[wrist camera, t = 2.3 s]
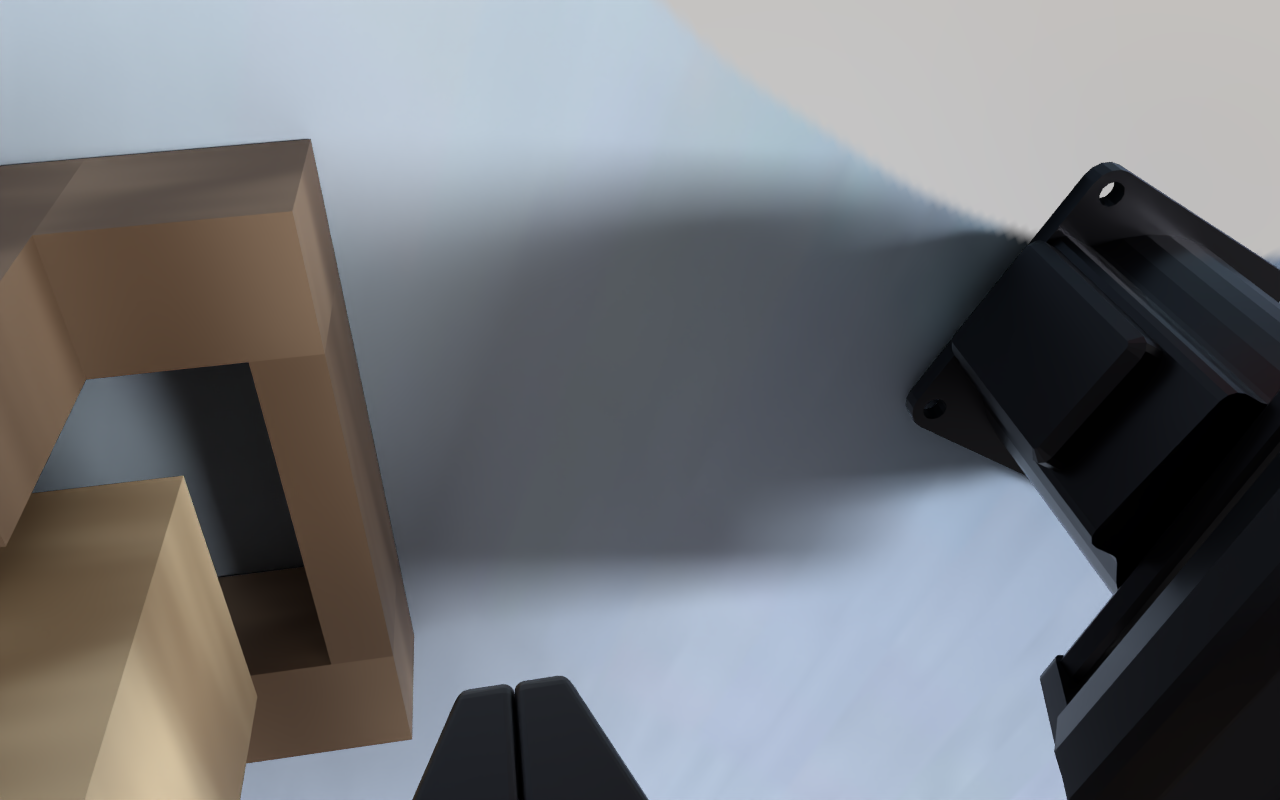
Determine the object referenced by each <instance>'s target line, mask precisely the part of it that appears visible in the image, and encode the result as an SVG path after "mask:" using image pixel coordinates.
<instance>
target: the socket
mask: <svg viewBox="0 0 1280 800" xmlns="http://www.w3.org/2000/svg"><path fill="white" fill-rule="evenodd" d="M245 362H249V366H250V369H251V373H252V377H253V380H254V384H255V388H256V391H257V395H258V399H259V402H260V406H261V410H262V413H263V417H264V421H265V424H266V428H267V431H268V435H269V439H270V442H271V446H272V450H273V453H274V457H275V461H276V464H277V468H278V472H279V475H280V479H281V483H282V486H283V490H284V494H285V497H286V501H287V505H288V508H289V512H290V516H291V519H292V523H293V527H294V530H295V534H296V538H297V541H298V545H299V549H300V552H301V556H302V559H303V563H304V567H298V568H290V569H282V570H274V571H266V572H258V573H251V574H243V575H235V576H227V577H219V578H218V580H219V583H220V586H221V589H222V592H223V595H224V598H225V601H226V604H227V607H228V610H229V613H230V616H231V619H232V622H233V625H234V628H235V631H236V634H237V637H238V640H239V643H240V646H241V649H242V652H243V655H244V658H245V661H246V664H247V667H248V670H249V673H250V676H251V679H252V682H253V685H254V688H255V691H256V694H257V701H256V707H255V713H254V719H253V725H252V731H251V737H250V743H249V749H248V755H247V761H246V763H252V762H259V761H266V760H273V759H280V758H287V757H294V756H300V755H307V754H314V753H321V752H328V751H335V750H342V749H349V748H356V747H362V746H369V745H376V744H383V743H390V742H397V741H404V740H411V739H412V718H413V665H414V633H413V628H412V623H411V618H410V614H409V609H408V604H407V599H406V594H405V590H404V585H403V580H402V575H401V570H400V566H399V561H398V556H397V551H396V546H395V542H394V537H393V532H392V527H391V522H390V518H389V513H388V508H387V503H386V498H385V494H384V489H383V484H382V479H381V474H380V470H379V465H378V460H377V455H376V451H375V446H374V441H373V436H372V431H371V427H370V422H369V417H368V412H367V407H366V403H365V398H364V393H363V388H362V383H361V379H360V374H359V369H358V364H357V359H356V355H355V350H354V345H353V340H352V335H351V331H350V326H349V321H348V316H347V311H346V307H345V302H344V297H343V292H342V287H341V283H340V278H339V273H338V268H337V263H336V259H335V254H334V249H333V244H332V239H331V235H330V230H329V225H328V220H327V215H326V211H325V206H324V201H323V196H322V191H321V187H320V182H319V177H318V172H317V167H316V163H315V158H314V153H313V148H312V143H311V139H307V140H296V141H284V142H272V143H261V144H249V145H237V146H226V147H214V148H202V149H191V150H179V151H168V152H156V153H144V154H133V155H121V156H109V157H98V158H86V159H74V160H63V161H51V162H40V163H28V164H16V165H5V166H0V547H6V545H7V543H8V541H9V539H10V537H11V535H12V533H13V531H14V529H15V527H16V524H17V522H18V520H19V518H20V516H21V514H22V512H23V510H24V508H25V506H26V504H27V502H28V499H29V497H30V495H31V493H32V491H33V489H34V487H35V485H36V483H37V481H38V479H39V477H40V474H41V472H42V470H43V468H44V466H45V464H46V462H47V460H48V458H49V456H50V454H51V452H52V449H53V447H54V445H55V443H56V441H57V439H58V437H59V435H60V433H61V431H62V429H63V427H64V424H65V422H66V420H67V418H68V416H69V414H70V412H71V410H72V408H73V406H74V404H75V402H76V399H77V397H78V395H79V393H80V391H81V389H82V387H83V385H84V383H85V381H86V379H95V378H105V377H114V376H123V375H133V374H142V373H152V372H161V371H170V370H180V369H189V368H198V367H208V366H217V365H226V364H236V363H245Z"/></svg>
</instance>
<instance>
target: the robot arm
mask: <svg viewBox="0 0 1280 800" xmlns="http://www.w3.org/2000/svg"><path fill="white" fill-rule="evenodd" d="M1113 182H1114V187H1113V189H1112V191H1111V192H1110V193H1109V194H1108V195H1107V196H1105V197H1102V198H1099V195H1100V193H1101V191H1102V189H1103V188H1104V187H1105V186H1106V185H1108V184H1109V183H1113ZM1279 301H1280V269H1279V268H1277V267H1275V266H1274V265H1272V264H1271V263H1269V262H1268V261H1266V260H1265V259H1263V258H1262V257H1260V256H1259V255H1257V254H1256V253H1254V252H1252V251H1251V250H1249V249H1248V248H1246V247H1245V246H1243V245H1242V244H1240V243H1239V242H1237V241H1236V240H1234V239H1233V238H1231V237H1230V236H1228V235H1226V234H1225V233H1223V232H1222V231H1220V230H1219V229H1217V228H1216V227H1214V226H1213V225H1211V224H1209V223H1208V222H1206V221H1205V220H1203V219H1202V218H1200V217H1199V216H1197V215H1196V214H1194V213H1193V212H1191V211H1190V210H1188V209H1187V208H1185V207H1184V206H1182V205H1180V204H1179V203H1177V202H1176V201H1174V200H1173V199H1171V198H1170V197H1168V196H1167V195H1165V194H1164V193H1162V192H1161V191H1159V190H1157V189H1156V188H1154V187H1153V186H1151V185H1150V184H1148V183H1147V182H1145V181H1144V180H1142V179H1141V178H1139V177H1138V176H1136V175H1134V174H1133V173H1131V172H1130V171H1128V170H1127V169H1125V168H1124V167H1122V166H1121V165H1119V164H1116V163H1113V162H1107V163H1101V164H1099V165H1097V166H1095V167H1093V168H1091V169H1090V170H1089V171H1088V172H1087V173H1086V174H1085V175H1084V176H1083V177H1082V178H1081V180H1080V181H1079V182H1078V183H1077V185H1076V186H1075V187H1074V188H1073V190H1072V191H1071V192H1070V193H1069V195H1068V196H1067V197H1066V198H1065V200H1064V201H1063V202H1062V203H1061V205H1060V206H1059V207H1058V208H1057V209H1056V211H1055V212H1054V213H1053V214H1052V216H1051V217H1050V218H1049V219H1048V221H1047V222H1046V223H1045V224H1044V226H1043V227H1042V228H1041V229H1040V231H1039V232H1038V233H1037V234H1036V236H1035V237H1034V238H1033V239H1032V240H1031V242H1030V243H1029V244H1028V245H1027V246H1026V247H1025V248H1024V249H1023V251H1022V252H1021V253H1020V254H1019V256H1018V257H1017V258H1016V259H1015V261H1014V262H1013V263H1012V264H1011V266H1010V267H1009V268H1008V269H1007V271H1006V272H1005V273H1004V274H1003V276H1002V277H1001V278H1000V279H999V281H998V282H997V283H996V284H995V286H994V287H993V288H992V289H991V291H990V292H989V293H988V294H987V295H986V297H985V298H984V299H983V300H982V302H981V303H980V304H979V305H978V307H977V308H976V309H975V310H974V312H973V313H972V314H971V315H970V317H969V318H968V319H967V320H966V322H965V323H964V324H963V325H962V327H961V328H960V329H959V330H958V332H957V333H956V334H955V335H954V337H953V338H952V340H951V341H950V342H949V344H948V345H947V346H946V347H945V349H944V350H943V351H942V352H941V354H940V355H939V356H938V357H937V359H936V360H935V361H934V362H933V363H932V365H931V366H930V367H929V368H928V370H927V371H926V372H925V373H924V375H923V376H922V377H921V378H920V380H919V381H918V382H917V383H916V385H915V386H914V387H913V388H912V390H911V391H910V393H909V395H908V396H907V399H906V407H907V410H908V412H909V414H910V415H911V417H912V418H913V420H914V422H915V423H916V424H918V425H919V426H920V427H922V428H924V429H927V430H929V431H931V432H933V433H935V434H937V435H939V436H942V437H944V438H946V439H948V440H950V441H952V442H955V443H957V444H959V445H961V446H963V447H965V448H967V449H970V450H972V451H974V452H976V453H978V454H980V455H983V456H985V457H987V458H989V459H991V460H993V461H996V462H998V463H1000V464H1002V465H1004V466H1006V467H1008V468H1011V469H1013V470H1015V471H1017V472H1019V473H1021V474H1024V475H1026V476H1027V477H1028V479H1029V480H1030V481H1031V483H1032V484H1033V486H1034V487H1035V488H1036V490H1037V491H1038V493H1039V494H1040V495H1041V497H1042V498H1043V499H1044V501H1045V502H1046V504H1047V505H1048V506H1049V508H1050V509H1051V510H1052V512H1053V513H1054V515H1055V516H1056V517H1057V519H1058V520H1059V521H1060V523H1061V524H1062V526H1063V527H1064V528H1065V530H1066V531H1067V532H1068V534H1069V535H1070V537H1071V538H1072V539H1073V541H1074V542H1075V543H1076V545H1077V546H1078V548H1079V549H1080V550H1081V552H1082V553H1083V555H1084V556H1085V557H1086V559H1087V560H1088V561H1089V563H1090V564H1091V566H1092V567H1093V568H1094V570H1095V571H1096V572H1097V574H1098V575H1099V577H1100V578H1101V579H1102V581H1103V582H1104V583H1105V585H1106V586H1107V588H1108V589H1109V590H1110V592H1111V593H1112V594H1113V596H1112V597H1111V598H1110V600H1109V601H1108V602H1107V603H1106V605H1105V606H1104V607H1103V608H1102V609H1101V611H1100V612H1099V613H1098V614H1097V616H1096V617H1095V618H1094V619H1093V621H1092V622H1091V623H1090V624H1089V626H1088V627H1087V628H1086V629H1085V630H1084V632H1083V633H1082V634H1081V635H1080V637H1079V638H1078V639H1077V640H1076V642H1075V643H1074V644H1073V645H1072V646H1071V648H1070V649H1069V650H1068V651H1067V653H1066V654H1065V655H1064V656H1063V655H1058V656H1056V657H1055V659H1054V660H1053V661H1052V662H1051V663H1050V665H1049V666H1048V667H1047V668H1046V670H1045V671H1044V672H1043V673H1042V675H1041V676H1040V681H1041V686H1042V690H1043V694H1044V699H1045V703H1046V708H1047V712H1048V716H1049V721H1050V725H1051V730H1052V734H1053V739H1054V743H1055V750H1054V752H1055V755H1056V759H1057V762H1058V765H1059V769H1060V772H1061V775H1062V778H1063V783H1064V787H1065V792H1066V796H1067V800H1280V304H1279ZM935 399H939V400H938V402H937V404H935V405H934V406H933V407H931V408H927V409H924V408H925V406H926V404H928V403H929V402H930V401H932V400H935ZM412 800H648V798H647V797H646V795H645V794H644V792H643V791H642V789H641V788H640V786H639V784H638V783H637V781H636V780H635V778H634V777H633V775H632V774H631V772H630V771H629V769H628V768H627V766H626V765H625V763H624V762H623V760H622V759H621V757H620V756H619V754H618V753H617V751H616V749H615V748H614V746H613V745H612V743H611V742H610V740H609V739H608V737H607V736H606V734H605V733H604V731H603V730H602V728H601V727H600V725H599V724H598V722H597V721H596V719H595V718H594V716H593V714H592V713H591V711H590V710H589V708H588V707H587V705H586V704H585V702H584V701H583V699H582V698H581V696H580V695H579V693H578V692H577V690H576V689H575V687H574V686H573V684H572V683H571V682H570V681H569V680H568V679H567V678H566V677H564V676H553V677H547V678H540V679H534V680H527V681H522V682H520V683H519V684H518V685H517V686H516V688H515V694H514V690H513V689H512V688H511V687H510V686H508V685H506V684H501V685H495V686H488V687H482V688H475V689H469V690H466V691H463V692H462V693H461V694H460V695H459V696H458V697H457V699H456V701H455V703H454V705H453V707H452V709H451V712H450V714H449V716H448V719H447V721H446V723H445V726H444V728H443V730H442V733H441V735H440V737H439V739H438V742H437V744H436V746H435V749H434V751H433V753H432V756H431V758H430V760H429V763H428V765H427V767H426V769H425V772H424V774H423V776H422V779H421V781H420V783H419V786H418V788H417V790H416V793H415V795H414V797H413V799H412Z"/></svg>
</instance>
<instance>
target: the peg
mask: <svg viewBox="0 0 1280 800" xmlns="http://www.w3.org/2000/svg"><path fill="white" fill-rule="evenodd" d="M256 701H257V694H256V691H255V688H254V685H253V682H252V679H251V676H250V673H249V670H248V667H247V664H246V661H245V658H244V655H243V652H242V649H241V646H240V643H239V640H238V637H237V634H236V631H235V628H234V625H233V622H232V619H231V616H230V613H229V610H228V607H227V604H226V601H225V598H224V595H223V592H222V589H221V586H220V583H219V580H218V577H217V574H216V571H215V568H214V566H213V563H212V560H211V557H210V554H209V551H208V548H207V545H206V542H205V539H204V536H203V533H202V530H201V527H200V524H199V521H198V518H197V515H196V512H195V509H194V506H193V503H192V500H191V497H190V494H189V491H188V488H187V485H186V482H185V479H184V476H176V477H167V478H159V479H150V480H141V481H133V482H124V483H116V484H107V485H99V486H90V487H82V488H73V489H65V490H56V491H47V492H39V493H31V495H30V497H29V499H28V502H27V504H26V506H25V508H24V510H23V512H22V514H21V516H20V518H19V520H18V522H17V524H16V527H15V529H14V531H13V533H12V535H11V537H10V539H9V541H8V543H7V545H6V547H0V800H240V796H241V790H242V784H243V779H244V773H245V767H246V761H247V755H248V749H249V743H250V737H251V731H252V725H253V719H254V713H255V707H256Z"/></svg>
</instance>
